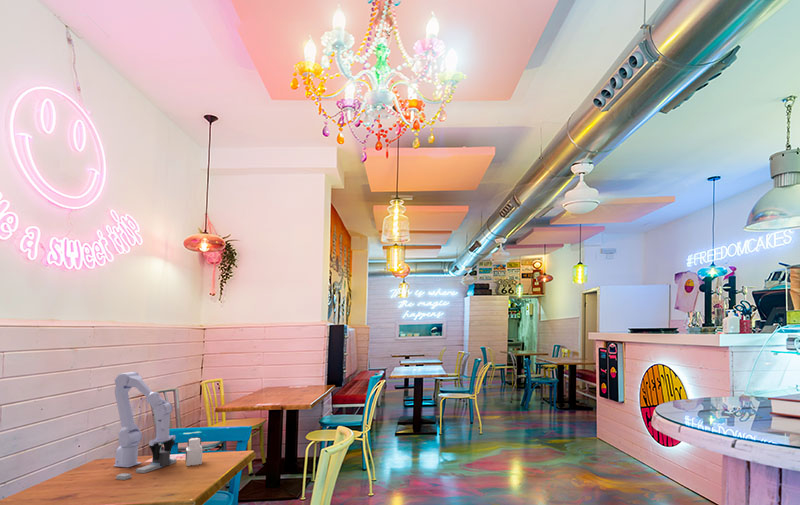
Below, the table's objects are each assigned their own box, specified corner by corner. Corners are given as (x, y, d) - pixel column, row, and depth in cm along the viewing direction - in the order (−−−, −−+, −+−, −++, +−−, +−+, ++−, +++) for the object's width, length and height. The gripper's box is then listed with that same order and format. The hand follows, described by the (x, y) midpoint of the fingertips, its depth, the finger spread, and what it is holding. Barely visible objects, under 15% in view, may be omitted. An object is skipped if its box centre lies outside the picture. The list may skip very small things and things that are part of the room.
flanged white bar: (115, 479, 217) (116, 474, 218) (168, 461, 245) (168, 457, 246) (124, 479, 216) (124, 474, 216) (176, 462, 244) (176, 457, 244)
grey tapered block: (152, 465, 238) (152, 452, 239) (158, 463, 241) (158, 450, 242) (163, 466, 235) (164, 453, 236) (169, 464, 239) (170, 451, 240)
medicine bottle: (185, 463, 242) (186, 437, 244) (201, 461, 245) (201, 435, 247) (185, 466, 236) (186, 440, 238) (202, 464, 239) (202, 438, 241)
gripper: (157, 432, 233) (156, 462, 231) (180, 426, 246) (179, 455, 244) (146, 431, 235) (144, 461, 233) (169, 425, 248) (168, 454, 246)
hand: (161, 458), depth 239 cm, fingers open, 6 cm apart
